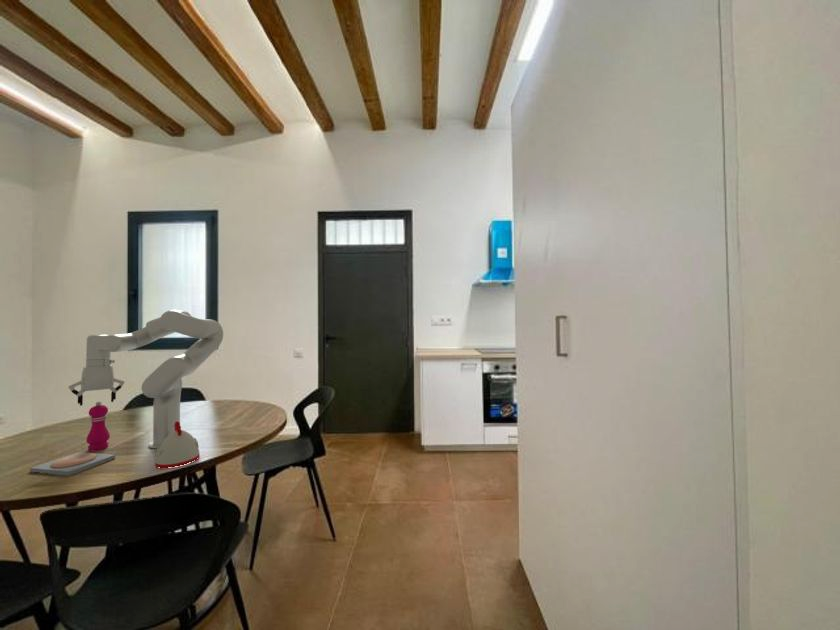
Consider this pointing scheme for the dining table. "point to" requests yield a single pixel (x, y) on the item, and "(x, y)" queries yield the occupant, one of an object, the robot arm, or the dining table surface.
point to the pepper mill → (98, 428)
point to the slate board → (72, 463)
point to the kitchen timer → (177, 449)
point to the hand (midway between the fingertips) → (97, 403)
